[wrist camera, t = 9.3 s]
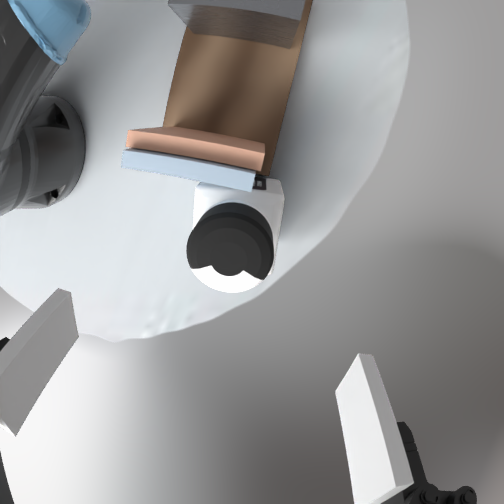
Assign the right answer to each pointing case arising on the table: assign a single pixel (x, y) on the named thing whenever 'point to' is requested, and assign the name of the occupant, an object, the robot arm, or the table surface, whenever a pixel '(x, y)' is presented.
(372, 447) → the robot arm
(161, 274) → the table surface
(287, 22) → the bookend
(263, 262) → the container
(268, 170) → the shelf
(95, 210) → the table surface
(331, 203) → the table surface
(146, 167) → the books
